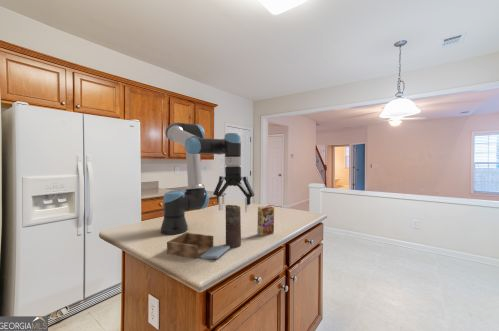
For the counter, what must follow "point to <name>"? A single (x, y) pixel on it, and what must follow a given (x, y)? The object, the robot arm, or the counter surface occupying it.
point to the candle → (233, 226)
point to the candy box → (265, 220)
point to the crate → (190, 245)
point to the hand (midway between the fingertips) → (233, 210)
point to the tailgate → (214, 252)
